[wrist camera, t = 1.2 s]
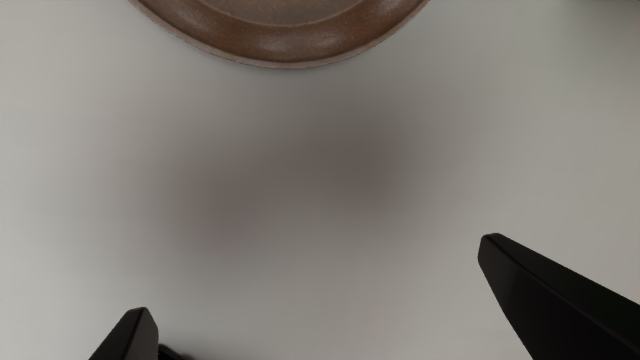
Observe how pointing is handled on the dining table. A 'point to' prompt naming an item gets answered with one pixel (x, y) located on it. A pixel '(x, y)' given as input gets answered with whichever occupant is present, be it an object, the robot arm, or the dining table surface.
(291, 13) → the plant saucer
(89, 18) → the dining table surface
